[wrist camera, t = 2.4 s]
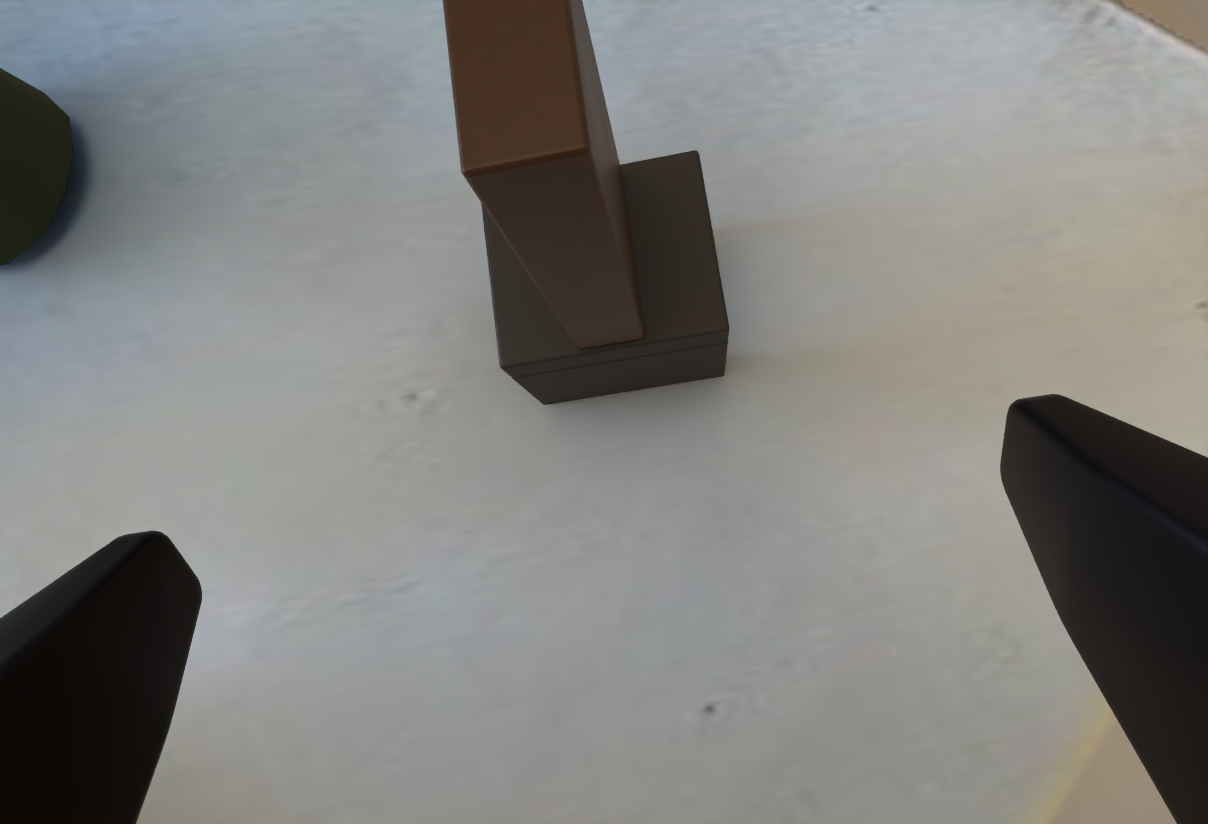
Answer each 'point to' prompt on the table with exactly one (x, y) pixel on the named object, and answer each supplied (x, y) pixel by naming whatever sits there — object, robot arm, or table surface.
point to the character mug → (29, 163)
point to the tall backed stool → (578, 214)
